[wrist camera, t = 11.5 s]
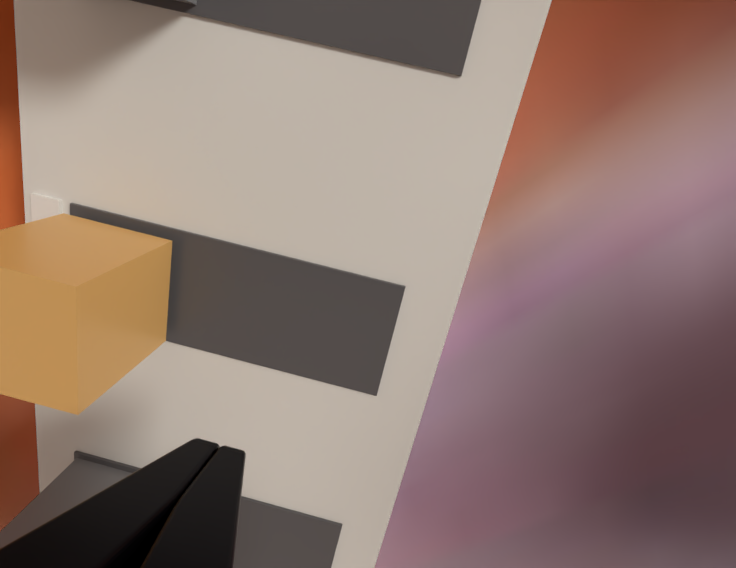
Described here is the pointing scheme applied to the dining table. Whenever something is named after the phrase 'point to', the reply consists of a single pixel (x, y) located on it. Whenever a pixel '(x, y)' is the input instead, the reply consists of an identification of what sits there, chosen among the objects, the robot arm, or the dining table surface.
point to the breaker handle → (78, 308)
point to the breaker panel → (273, 234)
